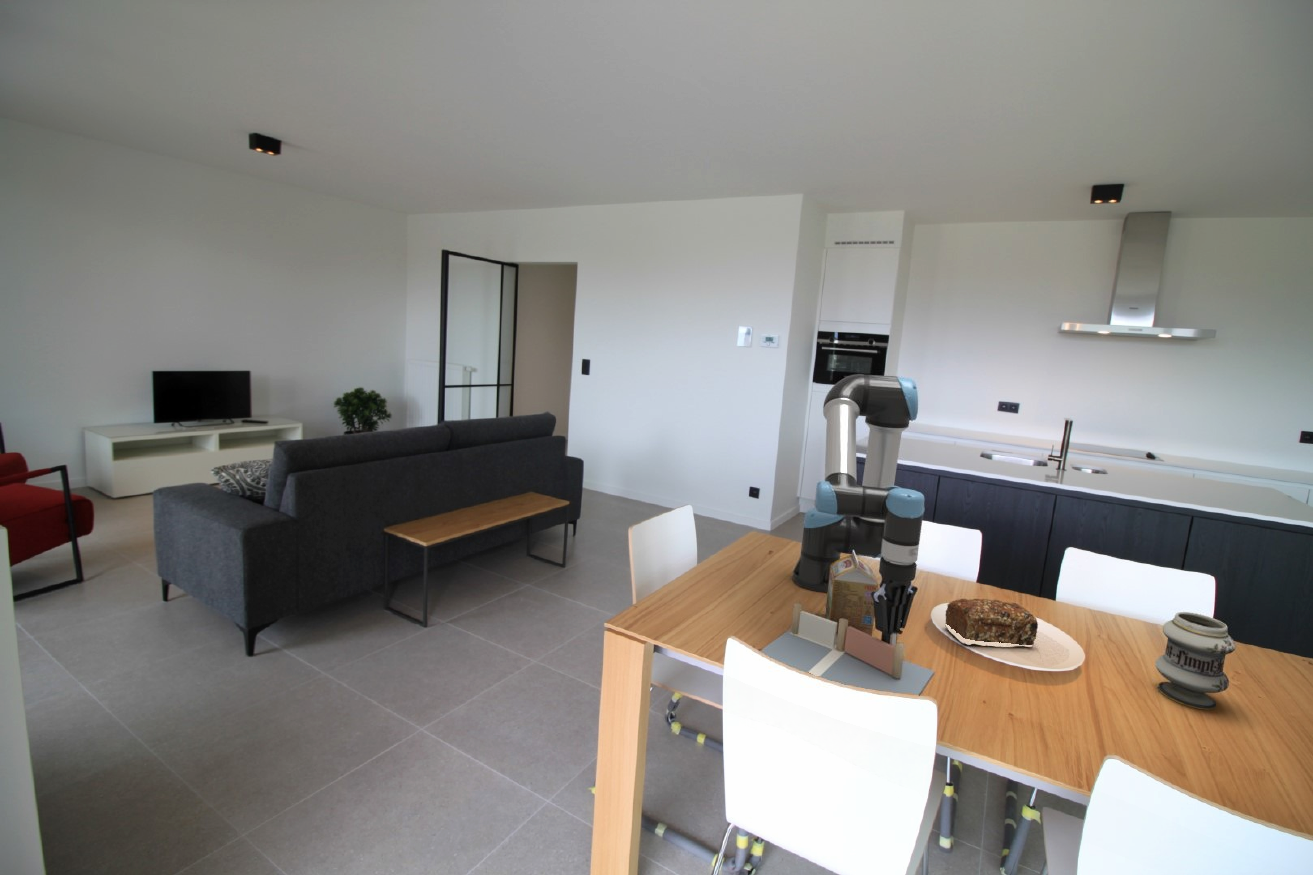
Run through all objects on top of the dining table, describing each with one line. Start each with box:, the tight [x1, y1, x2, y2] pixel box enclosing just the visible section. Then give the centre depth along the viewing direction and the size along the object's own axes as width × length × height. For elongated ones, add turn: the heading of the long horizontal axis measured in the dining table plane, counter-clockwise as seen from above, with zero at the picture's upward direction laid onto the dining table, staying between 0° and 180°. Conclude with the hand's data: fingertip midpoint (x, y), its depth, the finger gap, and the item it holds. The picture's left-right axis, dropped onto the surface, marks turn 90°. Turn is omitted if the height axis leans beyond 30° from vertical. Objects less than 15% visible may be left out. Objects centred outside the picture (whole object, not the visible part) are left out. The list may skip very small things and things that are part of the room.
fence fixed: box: [790, 602, 848, 651], centre depth 145 cm, size 2×14×7 cm, turn 52°
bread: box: [945, 598, 1039, 645], centre depth 153 cm, size 19×11×10 cm, turn 92°
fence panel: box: [844, 626, 906, 678], centre depth 135 cm, size 14×2×7 cm, turn 39°
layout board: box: [760, 627, 935, 696], centre depth 136 cm, size 22×33×1 cm, turn 51°
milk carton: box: [824, 550, 879, 636], centre depth 155 cm, size 11×11×19 cm
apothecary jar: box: [1155, 611, 1236, 711], centre depth 130 cm, size 12×12×18 cm
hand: (886, 658), depth 136 cm, fingers closed
